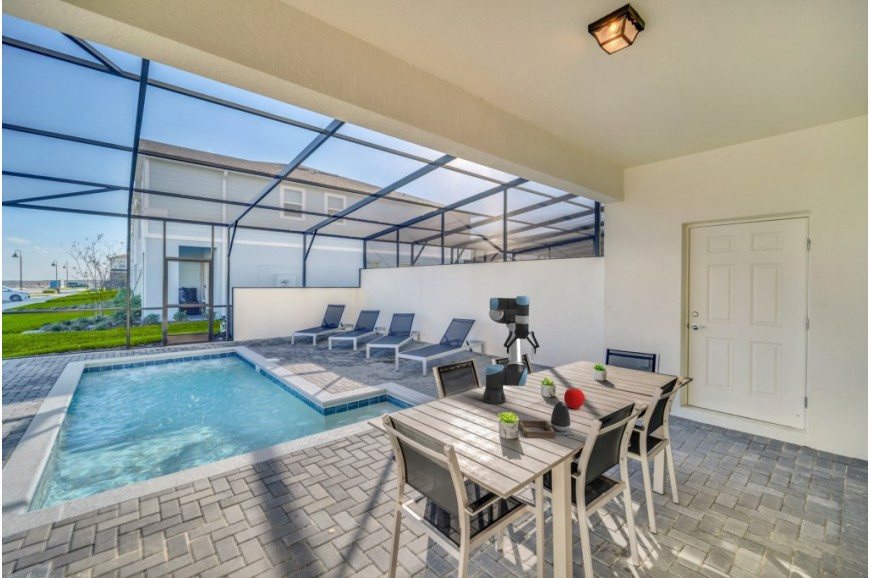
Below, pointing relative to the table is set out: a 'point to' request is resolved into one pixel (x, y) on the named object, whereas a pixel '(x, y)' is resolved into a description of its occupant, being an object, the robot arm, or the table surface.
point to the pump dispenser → (560, 417)
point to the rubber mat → (563, 432)
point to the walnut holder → (536, 434)
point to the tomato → (574, 398)
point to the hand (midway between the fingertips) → (521, 359)
